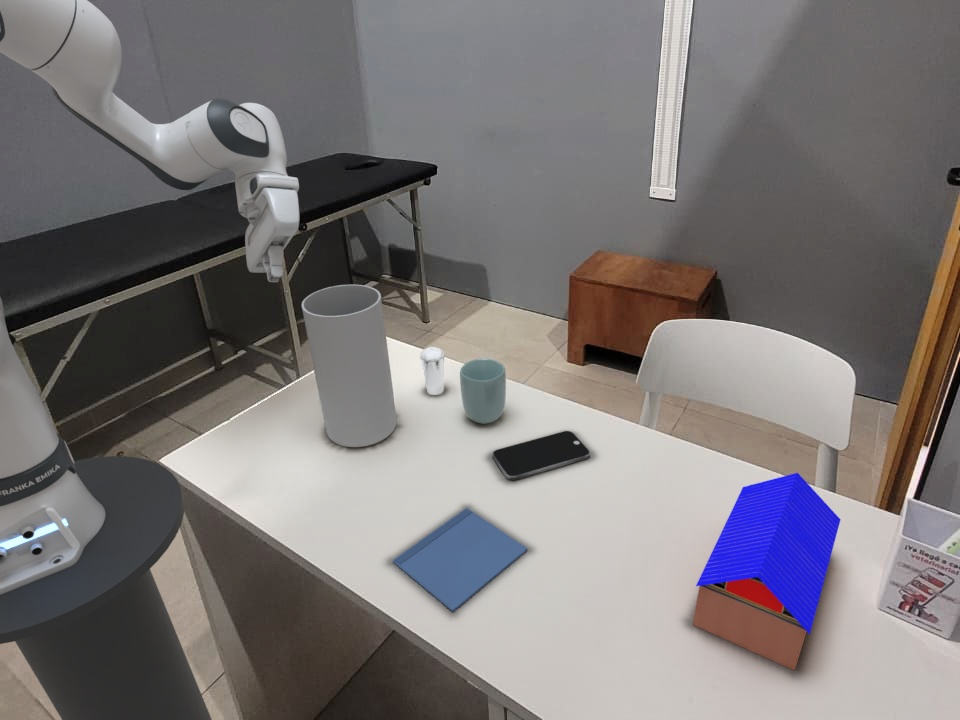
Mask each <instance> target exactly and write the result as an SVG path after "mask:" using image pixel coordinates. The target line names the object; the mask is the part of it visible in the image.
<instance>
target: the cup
mask: <svg viewBox="0 0 960 720" xmlns="http://www.w3.org/2000/svg"><path fill="white" fill-rule="evenodd" d="M506 372H507V371H506V368H505V365H503V364H502V363H501V362H500V361H497V360H496V359H491V358H476V359H472V360H469V361H468V362H466V363H464V364H463V365H462V366H461V368H460V370H459V384H460V385H459V386H460V395H461V396H460V397H461V402H462V406H463V407H462V408H463V410H464V413H465V415H466V416H467V417H468V418H469V419H470V420H471V421H473V422H475V423H478V424H482V425H486V424H487V425H488V424H491V423H493V422H496V421H497V420H498V419H500V417H501V416H502V415H503V413H504V411H505V407H506V400H507V376H506V375H507V373H506Z"/></svg>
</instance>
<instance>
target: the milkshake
mask: <svg viewBox="0 0 960 720" xmlns="http://www.w3.org/2000/svg"><path fill="white" fill-rule="evenodd" d="M419 358H420V363H421V367H422V371H423V375H424V381H425V386H426V387H425V388H426V391H427V394H428V395H430V396H440V395H442V394H443V392H444V391H445V351H444V349H441V348H439V347H437V346H427V347H426V348H424V349H422V351H421V353H420V355H419Z"/></svg>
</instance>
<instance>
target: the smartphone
mask: <svg viewBox="0 0 960 720" xmlns="http://www.w3.org/2000/svg"><path fill="white" fill-rule="evenodd" d="M491 456H492V457H491V458H492V459H493V461H494V462H495V464H496V465H497V467H498V468H499V470H500V472H502V474H503V475H504V477H505V478H506V479H508V480H510V481H514V480H515V481H516V480H519V479H522V478H523V479H524V478H525V477H529V476H533V475H536V474H540V473H543V472H546V471H549V470H554V469H557V468H560V467H564V466H566V465H570V464H575V463H577V462H581V461H583V460H587V459H589V458H591V457H590V456H591V451H590V450H589V449H588V448H587V447H586V445H585V444H584V443H583V442H582V441H581V440H580V438H579V437H577V436H576V434H575V433H574V432H572V431H570V430H564V431H561V432H556V433H553V434H551V435H546V436H542V437H539V438H535V439H531V440H527V441H524V442H520V443H517V444H513V445H509V446H506V447H502V448H498V449H496V450H494V451H493V452H492V455H491Z"/></svg>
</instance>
